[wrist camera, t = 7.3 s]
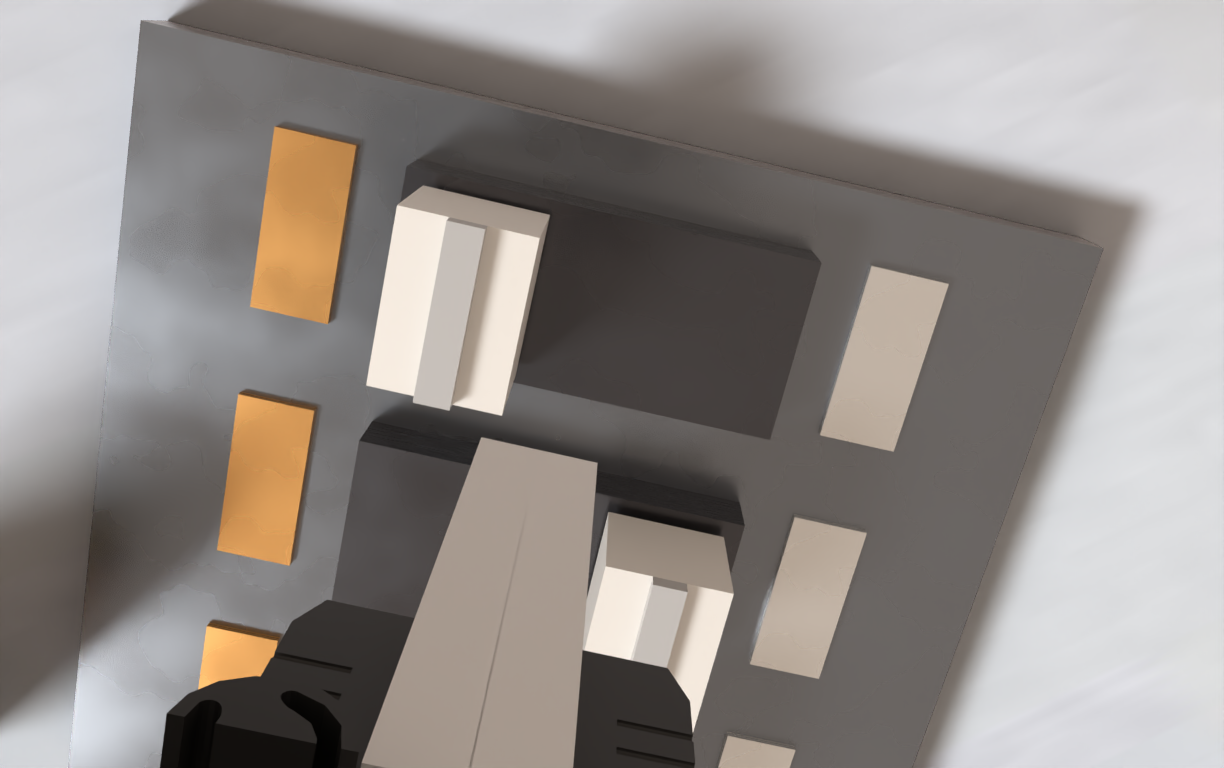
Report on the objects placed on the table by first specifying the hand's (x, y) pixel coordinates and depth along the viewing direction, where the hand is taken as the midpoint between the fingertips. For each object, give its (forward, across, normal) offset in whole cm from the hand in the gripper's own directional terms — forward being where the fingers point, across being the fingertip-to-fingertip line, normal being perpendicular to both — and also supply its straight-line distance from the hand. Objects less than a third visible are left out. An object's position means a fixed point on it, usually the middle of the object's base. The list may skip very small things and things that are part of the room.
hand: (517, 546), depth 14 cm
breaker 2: (+13, +4, -7) cm, 15 cm away
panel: (+16, +1, -7) cm, 18 cm away
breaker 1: (+13, -2, 0) cm, 13 cm away
